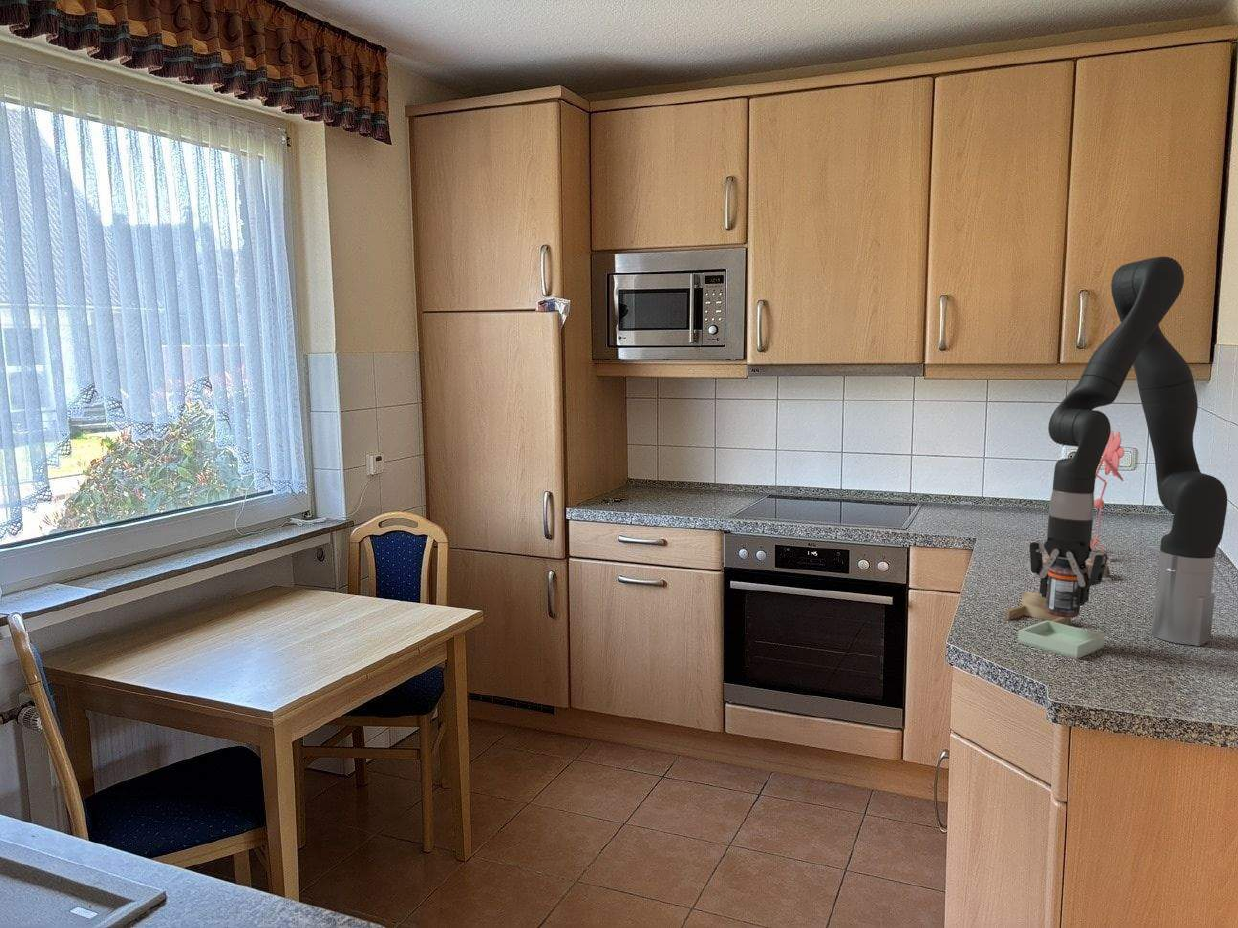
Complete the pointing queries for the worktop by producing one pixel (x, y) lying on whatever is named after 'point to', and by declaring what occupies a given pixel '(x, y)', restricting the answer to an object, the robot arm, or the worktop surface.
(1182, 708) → the worktop surface
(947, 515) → the worktop surface
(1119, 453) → the figurine
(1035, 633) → the sage tray
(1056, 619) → the wooden footstool
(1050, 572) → the supplement bottle
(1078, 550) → the robot arm
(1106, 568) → the packaged product
